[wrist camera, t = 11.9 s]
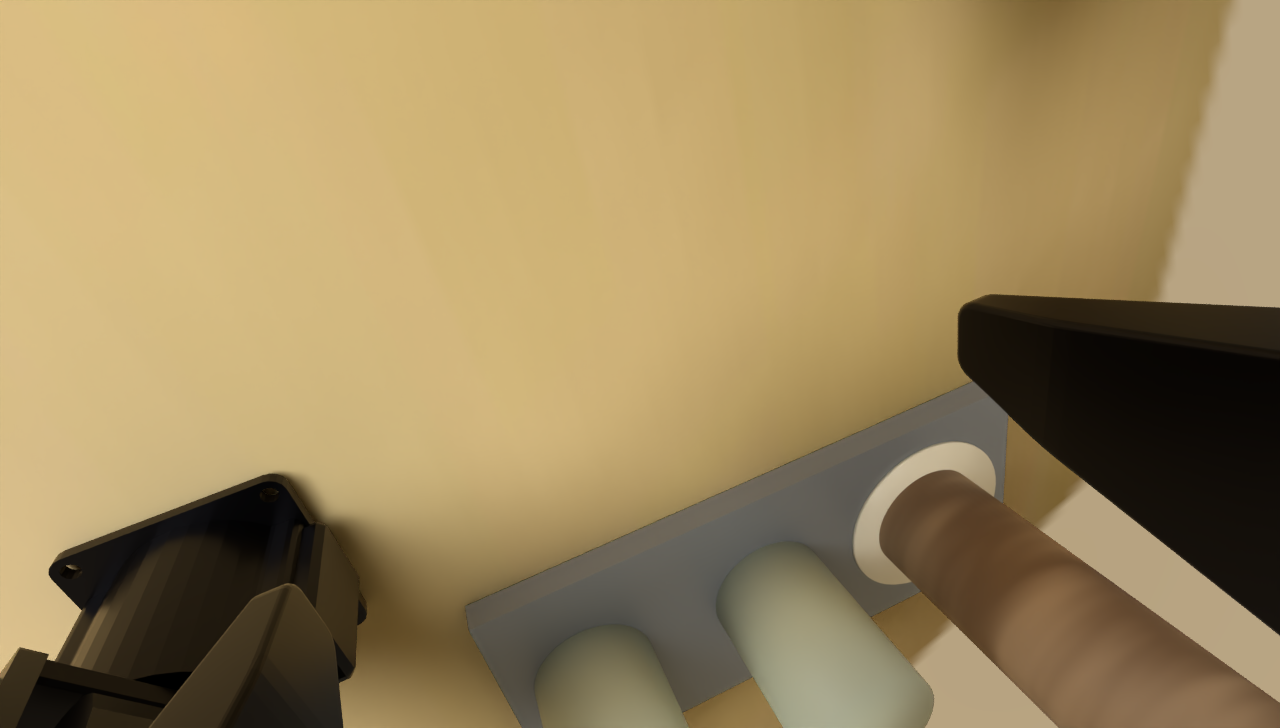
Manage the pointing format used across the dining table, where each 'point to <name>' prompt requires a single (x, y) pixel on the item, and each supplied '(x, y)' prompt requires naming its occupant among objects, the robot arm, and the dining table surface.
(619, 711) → the sage posts
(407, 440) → the dining table surface
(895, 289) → the dining table surface
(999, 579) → the walnut post
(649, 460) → the dining table surface
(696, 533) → the slate board
